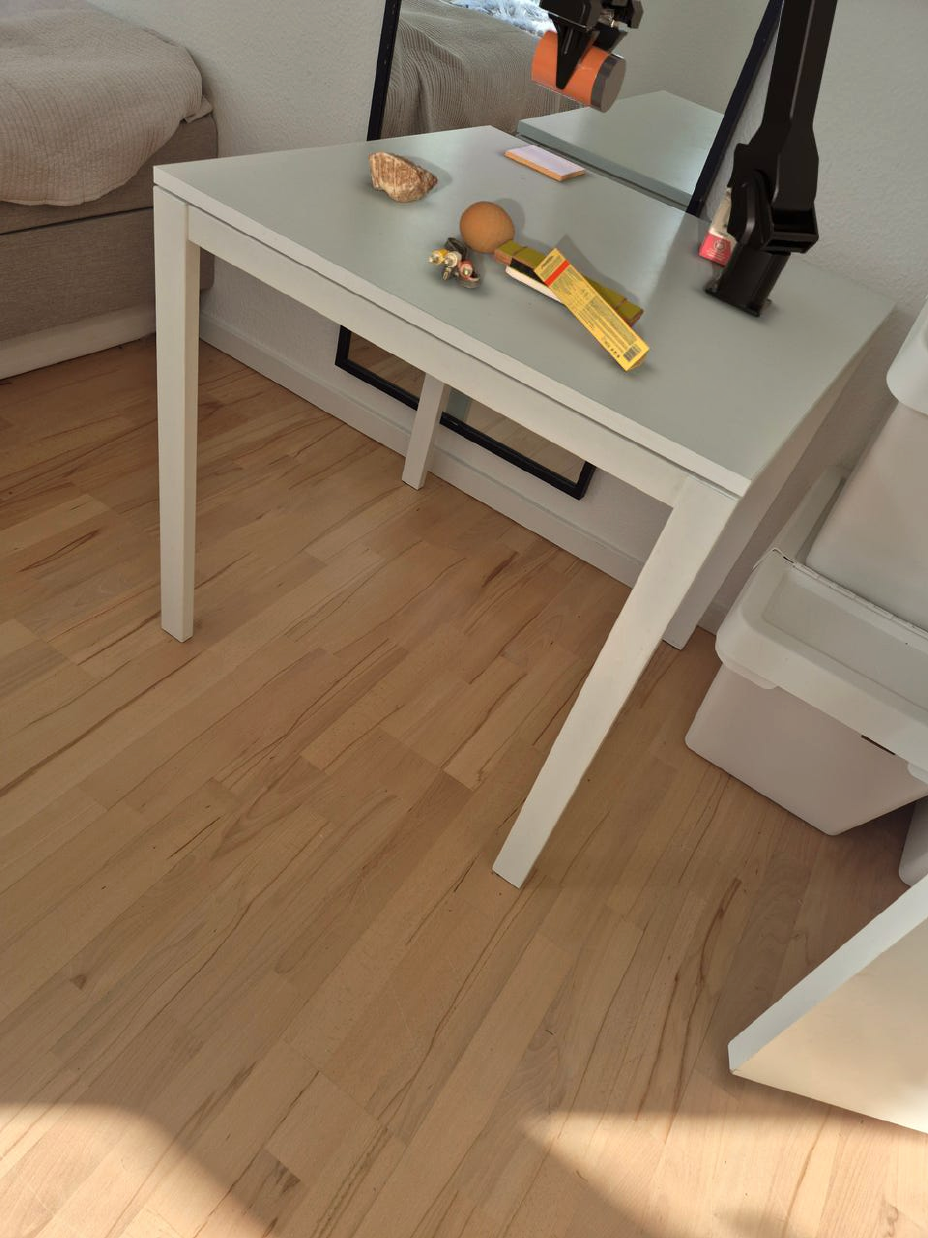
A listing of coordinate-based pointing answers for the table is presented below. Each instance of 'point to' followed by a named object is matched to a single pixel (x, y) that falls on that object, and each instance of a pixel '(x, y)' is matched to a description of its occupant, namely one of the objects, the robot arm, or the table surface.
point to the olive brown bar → (522, 268)
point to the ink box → (719, 234)
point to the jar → (581, 74)
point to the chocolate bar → (592, 310)
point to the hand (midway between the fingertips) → (569, 87)
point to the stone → (400, 177)
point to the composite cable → (456, 263)
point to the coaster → (545, 162)
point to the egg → (486, 227)
